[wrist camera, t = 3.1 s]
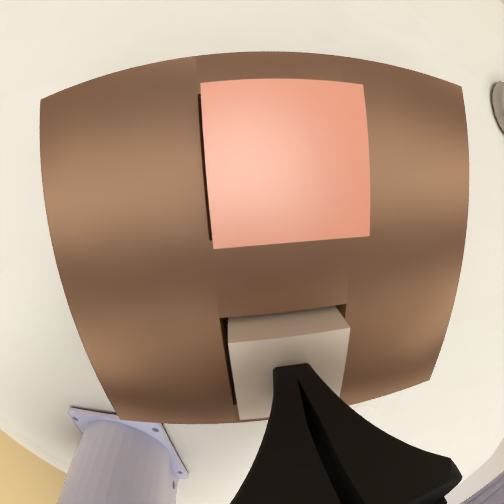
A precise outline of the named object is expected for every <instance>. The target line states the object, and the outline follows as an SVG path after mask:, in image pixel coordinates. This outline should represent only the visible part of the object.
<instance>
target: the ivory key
mask: <svg viewBox="0 0 504 504" xmlns="http://www.w3.org/2000/svg"><path fill="white" fill-rule="evenodd" d="M349 335H350V326H349V325H348V323H347V322H346V320H345V319H344V318H343V316H342V315H341V313H340V312H339V311H338V309H337V308H336V306H335V305H334V306H327V307H320V308H312V309H304V310H296V311H288V312H279V313H270V314H260V315H249V316H238V317H228V347H229V354H230V361H231V368H232V374H233V381H234V387H235V393H236V399H237V406H238V412H239V417H240V420H247V419H258V418H267V417H269V416H270V412H271V407H272V400H273V369H274V368H275V367H281V366H289V365H296V364H303V363H308V364H310V365H311V367H312V368H313V369H314V370H315V372H316V373H317V374H318V375H319V376H320V378H321V379H322V380H323V381H324V382H325V383H326V384H327V385H328V386H329V387H330V388H331V390H332V391H333V392H335V393H336V394H337V395H338V396H339V397H340V391H341V386H342V381H343V375H344V369H345V363H346V356H347V350H348V343H349Z"/></svg>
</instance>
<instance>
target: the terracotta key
mask: <svg viewBox="0 0 504 504" xmlns="http://www.w3.org/2000/svg"><path fill="white" fill-rule="evenodd" d="M200 86H201V106H202V123H203V138H204V152H205V165H206V177H207V188H208V199H209V210H210V220H211V230H212V239H213V248H214V249H221V248H232V247H244V246H256V245H267V244H279V243H291V242H303V241H315V240H328V239H340V238H353V237H365V236H370V160H369V141H368V128H367V116H366V106H365V97H364V89H363V84H355V83H347V82H337V81H326V80H310V79H242V80H227V81H215V82H205V83H200Z"/></svg>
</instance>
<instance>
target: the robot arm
mask: <svg viewBox="0 0 504 504" xmlns="http://www.w3.org/2000/svg"><path fill="white" fill-rule="evenodd" d="M68 414H69V415H70V417H71V418H72V420H73V421H74V423H75V424H76V426H77V427H78V428H79V430H80V431H81V432H82V434H83V435H82V438H81V440H80V443H79V445H78V448H77V450H76V453H75V455H74V458H73V460H72V463H71V465H70V468H69V471H68V473H67V477H66V479H65V482H64V485H63V488H62V490H61V493H60V496H59V499H58V502H57V504H176V493H177V483H178V478H179V479H187V478H188V476H189V474H188V473H187V471H186V469H185V467H184V466H183V464H182V462H181V460H180V459H179V457H178V455H177V453H176V451H175V449H174V448H173V446H172V444H171V442H170V440H169V438H168V436H167V434H166V432H165V430H164V428H163V426H162V424H161V423H150V422H137V421H127V420H120V419H119V417H118V415H114V414H106V413H99V412H93V411H87V410H81V409H76V408H69V409H68ZM461 479H462V475H461V473H460V472H459V470H458V468H457V466H456V465H455V464H454V462H453V461H452V460H451V458H448V457H444V456H441V455H437V454H434V453H430V452H427V451H424V450H421V449H419V448H416V447H414V446H411V445H409V444H407V443H405V442H403V441H401V440H399V439H397V438H395V437H393V436H391V435H389V434H387V433H385V432H384V431H382V430H381V429H379V428H377V427H376V426H374V425H373V424H371V423H370V422H368V421H367V420H366V419H364V418H363V417H362V416H360V415H359V414H358V413H357V412H355V411H354V410H353V409H352V408H351V407H349V406H348V405H347V404H346V403H345V402H344V401H343V400H342V399H341V398H340V397H339V396H338V395H337V394H336V393H335V392H333V391H332V390H331V388H330V387H329V386H328V385H327V384H326V383H325V382H324V381H323V380H322V379H321V378H320V376H319V375H318V374H317V373H316V372H315V370H314V369H313V368H312V367H311V365H310V364H308V363H303V364H296V365H289V366H281V367H275V368H274V369H273V400H272V407H271V412H270V416H269V420H268V424H267V428H266V431H265V434H264V437H263V440H262V443H261V446H260V448H259V451H258V453H257V455H256V458H255V460H254V462H253V465H252V467H251V469H250V471H249V473H248V475H247V477H246V478H245V480H244V482H243V484H242V485H241V487H240V489H239V491H238V492H237V494H236V496H235V497H234V499H233V500H232V501H231V503H230V504H447V501H446V499H445V497H444V496H445V495H446V494H448V493H449V492H450V491H451V490H452V489H453V488H454V487H455V486H456V485H457V484H458V483H459V482H460V481H461ZM461 504H504V471H503V472H502V473H501V474H499V475H498V476H497V477H496V478H495V479H493V480H492V481H491V482H490V483H488V484H487V485H486V486H485V487H483V488H482V489H481V490H479V491H478V492H476V493H475V494H474V495H472V496H471V497H469V498H468V499H466V500H465V501H464V502H462V503H461Z"/></svg>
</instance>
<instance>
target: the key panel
mask: <svg viewBox="0 0 504 504" xmlns="http://www.w3.org/2000/svg"><path fill="white" fill-rule="evenodd" d="M242 79H310V80H326V81H337V82H347V83H355V84H363V89H364V97H365V106H366V116H367V128H368V141H369V160H370V236H365V237H353V238H340V239H328V240H315V241H303V242H291V243H279V244H267V245H256V246H244V247H232V248H221V249H214V248H213V239H212V230H211V220H210V210H209V199H208V188H207V177H206V165H205V152H204V138H203V123H202V106H201V86H200V83H205V82H215V81H227V80H242ZM40 157H41V172H42V183H43V192H44V200H45V207H46V214H47V220H48V226H49V231H50V236H51V241H52V246H53V250H54V255H55V259H56V263H57V267H58V271H59V275H60V278H61V282H62V285H63V289H64V292H65V296H66V299H67V302H68V305H69V308H70V311H71V314H72V317H73V320H74V322H75V325H76V328H77V330H78V333H79V336H80V338H81V341H82V343H83V346H84V348H85V351H86V353H87V355H88V358H89V360H90V362H91V364H92V367H93V369H94V371H95V373H96V375H97V377H98V379H99V381H100V383H101V385H102V387H103V389H104V391H105V393H106V395H107V397H108V399H109V401H110V403H111V404H112V406H113V408H114V410H115V412H116V413H117V415H118V417H119V419H120V420H127V421H137V422H150V423H169V424H218V423H237V422H250V421H261V420H269V417H267V418H258V419H247V420H240V417H239V412H238V406H237V399H236V393H235V387H234V381H233V374H232V368H231V361H230V354H229V347H228V334H227V326H226V319H225V318H226V317H238V316H249V315H260V314H270V313H279V312H288V311H296V310H304V309H312V308H320V307H327V306H334V305H335V306H336V308H337V309H338V311H339V312H340V313H341V315H342V316H343V318H344V319H345V320H346V322H347V323H348V325H349V326H350V335H349V343H348V350H347V356H346V363H345V369H344V375H343V381H342V386H341V391H340V398H341V399H342V400H343V401H344V402H345V403H346V404H347V405H352V404H356V403H360V402H364V401H367V400H371V399H375V398H378V397H381V396H385V395H388V394H391V393H394V392H397V391H400V390H403V389H406V388H409V387H412V386H414V385H417V384H420V383H423V382H425V381H428V380H430V377H431V374H432V372H433V369H434V367H435V364H436V361H437V358H438V356H439V353H440V350H441V347H442V344H443V340H444V337H445V334H446V331H447V327H448V324H449V320H450V316H451V313H452V309H453V305H454V301H455V296H456V292H457V287H458V282H459V277H460V272H461V266H462V260H463V253H464V246H465V238H466V229H467V218H468V202H469V149H468V134H467V123H466V114H465V106H464V100H463V93H462V87H461V86H458V85H456V84H453V83H450V82H448V81H445V80H442V79H439V78H436V77H433V76H429V75H426V74H423V73H419V72H416V71H412V70H409V69H405V68H401V67H397V66H392V65H388V64H383V63H379V62H373V61H368V60H362V59H356V58H350V57H343V56H335V55H326V54H315V53H301V52H235V53H221V54H210V55H201V56H193V57H186V58H179V59H173V60H167V61H162V62H157V63H152V64H147V65H143V66H138V67H134V68H130V69H126V70H122V71H119V72H115V73H112V74H108V75H105V76H102V77H98V78H95V79H92V80H89V81H86V82H83V83H81V84H78V85H75V86H72V87H70V88H67V89H65V90H62V91H60V92H57V93H55V94H53V95H50V96H48V97H46V98H43V99H41V102H40Z"/></svg>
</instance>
